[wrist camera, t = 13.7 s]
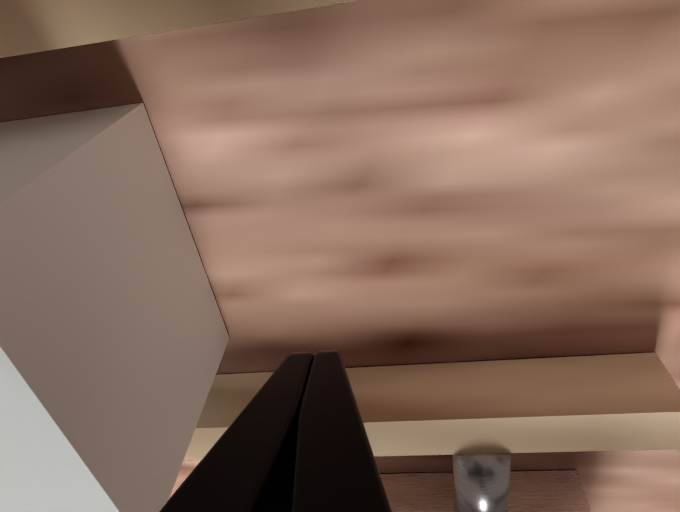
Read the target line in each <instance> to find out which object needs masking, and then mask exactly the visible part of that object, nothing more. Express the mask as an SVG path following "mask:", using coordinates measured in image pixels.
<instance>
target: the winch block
mask: <svg viewBox="0 0 680 512" xmlns="http://www.w3.org/2000/svg"><path fill="white" fill-rule="evenodd" d="M511 455H512V453H496V454H455V455H452V461H453V473H410V474H380V476H381V479H382V482H383V485H384V488H385V491H386V494H387V497H388V500H389V504H390V507H391V510H392V512H591V510H590V507H589V505H588V502H587V499H586V496H585V493H584V491H583V488H582V485H581V482H580V479H579V477H578V474H577V471H576V470H568V471H515V472H510V470H511Z"/></svg>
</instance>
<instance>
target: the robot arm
mask: <svg viewBox="0 0 680 512" xmlns="http://www.w3.org/2000/svg"><path fill="white" fill-rule="evenodd" d="M159 512H392V510H391V507H390V504H389V500H388V497H387V494H386V491H385V488H384V485H383V482H382V479H381V476H380V473H379V470H378V467H377V464H376V461H375V458H374V454H373V451H372V448H371V445H370V442H369V439H368V436H367V433H366V430H365V427H364V424H363V421H362V418H361V415H360V412H359V408H358V405H357V402H356V399H355V396H354V393H353V390H352V387H351V384H350V381H349V378H348V375H347V372H346V369H345V366H344V362H343V359H342V356H341V354H340V352H339V351H338V350H326V351H317V352H316V353H315V354H314V353H313V352H310V351H309V352H293V353H290V354H289V355H288V356H287V357H286V358H285V359H284V360H283V362H282V363H281V364H280V365H279V367H278V368H277V369H276V370H275V371H274V373H273V374H272V375H271V376H270V377H269V379H268V380H267V381H266V382H265V384H264V385H263V386H262V387H261V388H260V390H259V391H258V392H257V393H256V394H255V396H254V397H253V398H252V399H251V401H250V402H249V403H248V404H247V405H246V407H245V408H244V409H243V410H242V411H241V413H240V414H239V415H238V416H237V418H236V419H235V420H234V421H233V422H232V424H231V425H230V426H229V427H228V428H227V430H226V431H225V432H224V433H223V435H222V436H221V437H220V438H219V439H218V441H217V442H216V443H215V444H214V445H213V447H212V448H211V449H210V450H209V452H208V453H207V454H206V455H205V456H204V458H203V459H202V460H201V461H200V463H199V464H198V465H197V466H196V467H195V469H194V470H193V471H192V472H191V473H190V475H189V476H188V477H187V478H186V480H185V481H184V482H183V483H182V484H181V486H180V487H179V488H178V489H177V490H176V492H175V493H174V494H173V495H172V497H171V498H170V499H169V500H168V501H167V503H166V504H165V505H164V506H163V507H162V509H161V510H160V511H159Z"/></svg>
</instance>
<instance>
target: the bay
mask: <svg viewBox="0 0 680 512" xmlns="http://www.w3.org/2000/svg"><path fill="white" fill-rule="evenodd" d="M354 1H361V0H0V58H5V57H11V56H17V55H23V54H30V53H36V52H42V51H48V50H55V49H61V48H67V47H73V46H80V45H86V44H92V43H98V42H105V41H111V40H117V39H123V38H130V37H136V36H142V35H148V34H155V33H161V32H167V31H173V30H180V29H186V28H192V27H198V26H205V25H211V24H217V23H223V22H230V21H236V20H242V19H248V18H254V17H261V16H267V15H273V14H279V13H286V12H292V11H298V10H304V9H311V8H317V7H323V6H329V5H336V4H342V3H348V2H354ZM345 369H346V372H347V375H348V378H349V381H350V384H351V387H352V390H353V393H354V396H355V399H356V402H357V405H358V408H359V412H360V415H361V418H362V421H363V424H364V427H365V430H366V433H367V436H368V439H369V442H370V445H371V448H372V451H373V454H374V456H413V455H455V454H496V453H537V452H578V451H620V450H661V449H680V389H679V388H678V386H677V385H676V383H675V382H674V380H673V378H672V377H671V375H670V374H669V372H668V371H667V369H666V368H665V366H664V365H663V363H662V361H661V360H660V358H659V357H658V355H657V354H656V352H654V353H635V354H615V355H595V356H576V357H556V358H536V359H517V360H497V361H477V362H458V363H438V364H418V365H399V366H379V367H359V368H345ZM273 373H274V372H261V373H241V374H222V375H215V378H214V381H213V383H212V386H211V389H210V391H209V394H208V396H207V399H206V402H205V404H204V407H203V410H202V412H201V415H200V418H199V420H198V423H197V426H196V428H195V431H194V433H193V436H192V439H191V441H190V444H189V447H188V449H187V452H186V455H185V457H184V460H183V461H201V460H202V459H203V458H204V456H205V455H206V454H207V453H208V452H209V450H210V449H211V448H212V447H213V445H214V444H215V443H216V442H217V441H218V439H219V438H220V437H221V436H222V435H223V433H224V432H225V431H226V430H227V428H228V427H229V426H230V425H231V424H232V422H233V421H234V420H235V419H236V418H237V416H238V415H239V414H240V413H241V411H242V410H243V409H244V408H245V407H246V405H247V404H248V403H249V402H250V401H251V399H252V398H253V397H254V396H255V394H256V393H257V392H258V391H259V390H260V388H261V387H262V386H263V385H264V384H265V382H266V381H267V380H268V379H269V377H270V376H271V375H272V374H273Z"/></svg>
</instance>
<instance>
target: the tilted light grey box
mask: <svg viewBox="0 0 680 512" xmlns="http://www.w3.org/2000/svg"><path fill="white" fill-rule="evenodd" d="M228 341H229V335H228V333H227V330H226V327H225V324H224V322H223V319H222V316H221V314H220V311H219V308H218V305H217V303H216V300H215V297H214V294H213V292H212V289H211V286H210V284H209V281H208V278H207V275H206V273H205V270H204V267H203V265H202V262H201V259H200V256H199V254H198V251H197V248H196V246H195V243H194V240H193V237H192V235H191V232H190V229H189V226H188V224H187V221H186V218H185V216H184V213H183V210H182V207H181V205H180V202H179V199H178V197H177V194H176V191H175V188H174V186H173V183H172V180H171V178H170V175H169V172H168V169H167V167H166V164H165V161H164V158H163V156H162V153H161V150H160V148H159V145H158V142H157V139H156V137H155V134H154V131H153V129H152V126H151V123H150V120H149V118H148V115H147V112H146V110H145V107H144V104H143V103H137V104H130V105H123V106H116V107H108V108H101V109H94V110H87V111H80V112H72V113H65V114H58V115H51V116H44V117H36V118H29V119H22V120H15V121H7V122H0V512H159V511H160V510H161V509H162V507H163V506H164V505H165V504H166V503H167V501H168V499H169V497H170V494H171V492H172V489H173V486H174V484H175V481H176V478H177V476H178V473H179V470H180V468H181V465H182V462H183V460H184V457H185V455H186V452H187V449H188V447H189V444H190V441H191V439H192V436H193V433H194V431H195V428H196V426H197V423H198V420H199V418H200V415H201V412H202V410H203V407H204V404H205V402H206V399H207V396H208V394H209V391H210V389H211V386H212V383H213V381H214V378H215V375H216V373H217V370H218V367H219V365H220V362H221V359H222V357H223V354H224V352H225V349H226V346H227V344H228Z"/></svg>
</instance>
